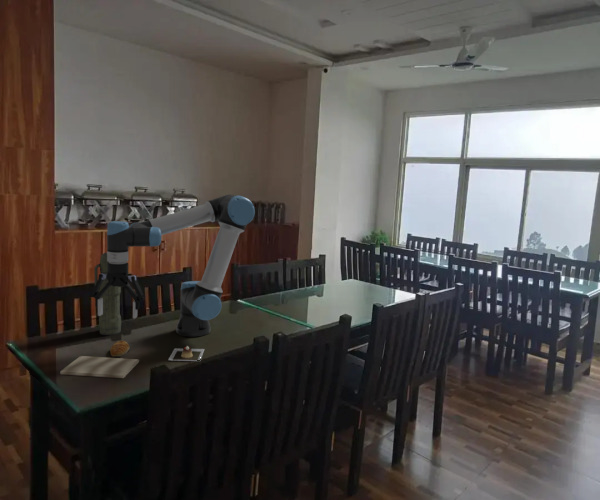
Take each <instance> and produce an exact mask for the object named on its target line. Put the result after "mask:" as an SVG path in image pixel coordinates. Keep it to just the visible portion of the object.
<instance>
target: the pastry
mask: <svg viewBox="0 0 600 500" xmlns="http://www.w3.org/2000/svg"><path fill="white" fill-rule="evenodd" d="M129 350H130V345H129V344H128V342H127V341H125V340H119V341H116V342H115V343H114V344H113V345H112V346H111V347H110V350H109V351H110V355H111V358H115V357H122V356H123V355H126V354H127V353H128V351H129Z"/></svg>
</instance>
